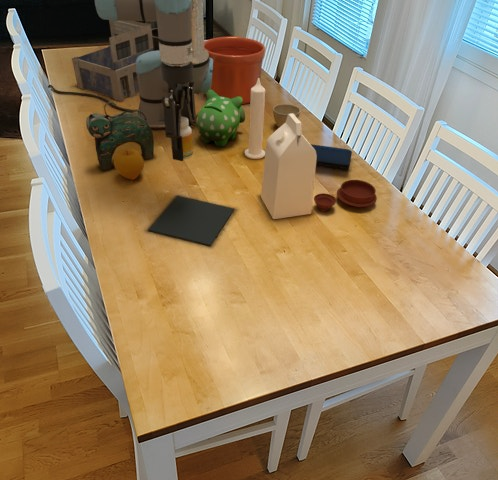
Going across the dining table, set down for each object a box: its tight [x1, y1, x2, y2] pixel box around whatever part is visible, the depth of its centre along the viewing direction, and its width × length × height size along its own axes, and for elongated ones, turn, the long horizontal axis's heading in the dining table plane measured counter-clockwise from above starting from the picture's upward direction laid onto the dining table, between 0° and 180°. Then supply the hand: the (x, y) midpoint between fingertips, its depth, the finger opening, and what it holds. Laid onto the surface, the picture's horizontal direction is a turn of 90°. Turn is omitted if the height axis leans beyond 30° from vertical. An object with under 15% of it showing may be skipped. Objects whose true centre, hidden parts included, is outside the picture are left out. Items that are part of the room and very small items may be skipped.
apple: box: [113, 148, 145, 181], centre depth 139 cm, size 9×9×9 cm
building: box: [71, 20, 154, 102], centre depth 187 cm, size 23×24×23 cm
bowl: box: [272, 103, 301, 129], centre depth 169 cm, size 10×10×7 cm
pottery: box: [313, 179, 378, 212], centre depth 134 cm, size 12×20×4 cm, turn 113°
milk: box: [260, 113, 317, 220], centre depth 125 cm, size 12×12×26 cm
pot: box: [204, 36, 266, 105], centre depth 186 cm, size 25×25×19 cm
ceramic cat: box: [85, 101, 155, 171], centre depth 142 cm, size 20×6×20 cm, turn 122°
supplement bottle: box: [180, 117, 194, 160], centre depth 119 cm, size 5×5×10 cm
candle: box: [244, 78, 266, 160], centre depth 147 cm, size 7×7×25 cm
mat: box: [147, 195, 235, 247], centre depth 126 cm, size 18×18×1 cm
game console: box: [310, 143, 353, 171], centre depth 149 cm, size 16×13×9 cm
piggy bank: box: [195, 90, 246, 148], centre depth 158 cm, size 14×18×15 cm
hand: (183, 154), depth 122 cm, fingers closed on supplement bottle, 5 cm apart
